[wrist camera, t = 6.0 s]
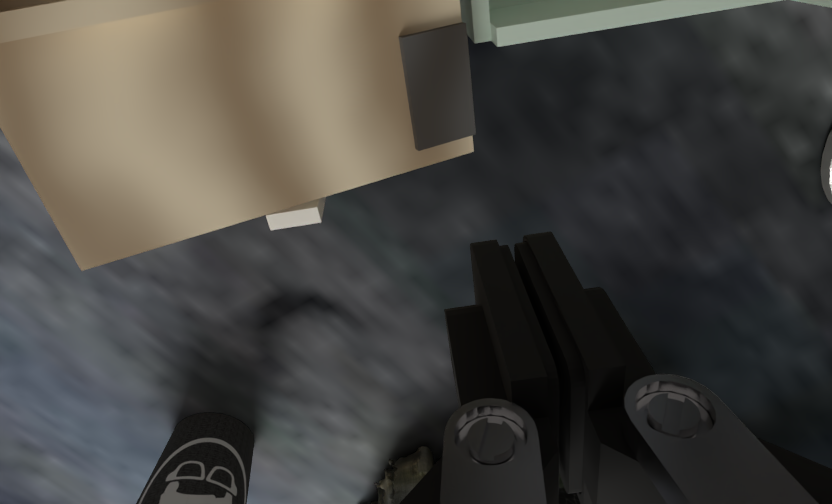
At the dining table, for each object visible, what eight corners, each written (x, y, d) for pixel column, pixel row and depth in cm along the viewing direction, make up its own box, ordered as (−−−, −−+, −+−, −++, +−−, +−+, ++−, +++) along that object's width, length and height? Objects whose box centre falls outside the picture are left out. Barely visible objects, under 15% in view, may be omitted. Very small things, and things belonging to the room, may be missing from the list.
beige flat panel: (419, -280, 19) (453, -312, 17) (462, 144, 28) (489, 161, 25) (-191, -240, 15) (-255, -278, 12) (84, 257, 23) (76, 290, 21)
